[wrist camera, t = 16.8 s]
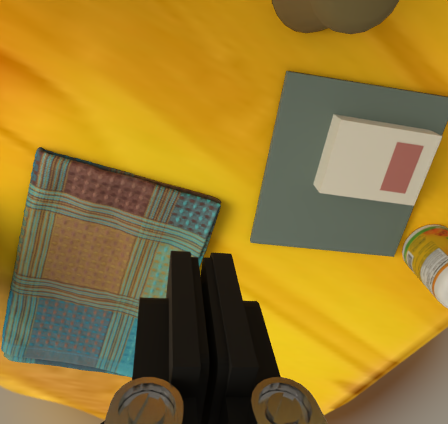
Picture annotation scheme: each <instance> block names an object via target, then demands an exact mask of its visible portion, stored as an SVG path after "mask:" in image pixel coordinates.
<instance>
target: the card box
mask: <svg viewBox="0 0 448 424" xmlns="http://www.w3.org/2000/svg"><path fill="white" fill-rule="evenodd" d="M441 139H442V136H441V135H439V134H437V133H435V132H433V131H431V130H427V129H421V128H415V127H409V126H403V125H397V124H391V123H385V122H378V121H372V120H366V119H360V118H354V117H348V116H342V115H336V114H333V118H332V121H331V125H330V128H329V131H328V135H327V138H326V142H325V145H324V149H323V152H322V156H321V159H320V163H319V166H318V170H317V173H316V177H315V180H314V184H313V185H314V186H315V187H316V189H317V190H318V192H319V193H323V194H331V195H338V196H345V197H353V198H360V199H367V200H375V201H382V202H390V203H397V204H404V205H412V206H414V204H415V202H416V200H417V197H418V195H419V192H420V190H421V187H422V185H423V183H424V180H425V178H426V175H427V173H428V170H429V168H430V165H431V163H432V161H433V158H434V156H435V153H436V151H437V148H438V146H439V143H440V141H441Z"/></svg>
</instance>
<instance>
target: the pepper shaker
mask: <svg viewBox="0 0 448 424" xmlns="http://www.w3.org/2000/svg"><path fill="white" fill-rule="evenodd" d="M398 2H399V0H272V4H273V6H274V9H275V11H276V14H277V16H278V17H279V18H280V20H281V21H282V22H283V23H284V24H285V25H286V26H288V27H289V28H291V29H293V30H294V31H298V32H303V33H310V32H316V31H320V30H324V29H327V28H330V29H332V30H333V31H336V32H342V33H347V34H355V33H360V32H365V31H367V30H369V29H371V28H373V27H375V26H376V25H378V24H380V23H381V22H382V21H383V20H384V19H385V18H387V17H388V16H389V15H390V14H391V13H392V11H393V10H394V8H395V6H396V5H397V3H398Z"/></svg>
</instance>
